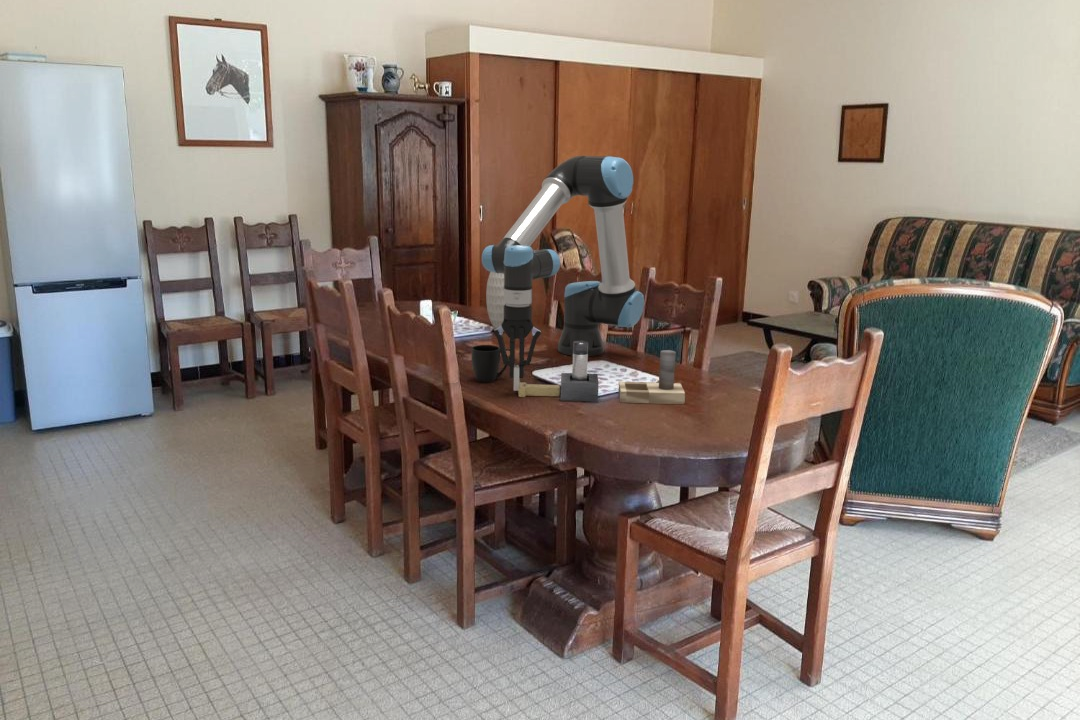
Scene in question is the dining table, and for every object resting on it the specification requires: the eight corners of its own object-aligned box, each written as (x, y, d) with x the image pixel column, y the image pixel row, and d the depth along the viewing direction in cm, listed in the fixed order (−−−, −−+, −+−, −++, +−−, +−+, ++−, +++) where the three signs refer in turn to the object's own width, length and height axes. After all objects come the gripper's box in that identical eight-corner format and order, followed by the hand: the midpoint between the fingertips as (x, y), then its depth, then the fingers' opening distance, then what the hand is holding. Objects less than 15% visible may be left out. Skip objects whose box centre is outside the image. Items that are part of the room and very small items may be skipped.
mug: (515, 382, 246) (516, 350, 244) (474, 384, 243) (474, 352, 240) (508, 374, 254) (509, 343, 251) (469, 377, 250) (468, 345, 248)
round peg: (571, 393, 236) (573, 340, 232) (586, 394, 236) (588, 340, 232) (571, 397, 232) (573, 343, 228) (586, 398, 232) (588, 344, 228)
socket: (560, 390, 239) (561, 372, 238) (596, 391, 239) (597, 373, 237) (560, 400, 229) (560, 382, 228) (597, 401, 229) (598, 383, 228)
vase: (506, 325, 322) (507, 250, 315) (528, 331, 313) (529, 254, 306) (479, 329, 314) (479, 252, 307) (500, 335, 305) (500, 256, 298)
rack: (618, 391, 238) (620, 346, 235) (679, 393, 238) (682, 348, 235) (620, 402, 229) (622, 355, 226) (684, 404, 228) (687, 356, 225)
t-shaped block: (519, 390, 237) (519, 382, 237) (559, 391, 237) (559, 383, 236) (518, 396, 232) (518, 388, 231) (559, 398, 231) (559, 389, 231)
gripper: (492, 306, 225) (491, 392, 231) (541, 307, 225) (539, 394, 230) (494, 301, 232) (494, 384, 238) (542, 302, 232) (540, 386, 238)
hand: (516, 389), depth 234 cm, fingers closed
